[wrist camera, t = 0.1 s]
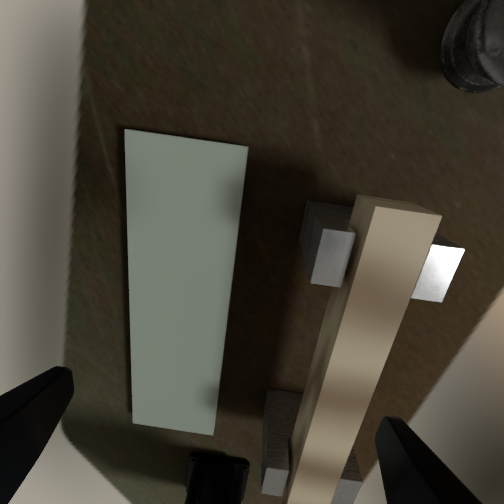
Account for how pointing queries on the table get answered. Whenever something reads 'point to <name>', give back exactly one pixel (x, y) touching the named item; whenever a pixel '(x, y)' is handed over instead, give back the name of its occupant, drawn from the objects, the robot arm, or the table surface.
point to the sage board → (180, 273)
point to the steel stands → (331, 274)
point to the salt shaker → (475, 46)
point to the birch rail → (356, 341)
